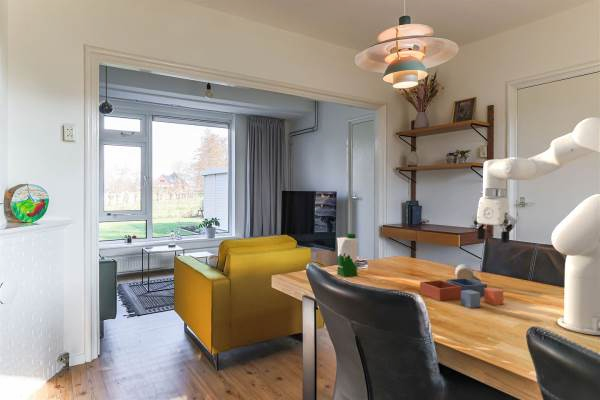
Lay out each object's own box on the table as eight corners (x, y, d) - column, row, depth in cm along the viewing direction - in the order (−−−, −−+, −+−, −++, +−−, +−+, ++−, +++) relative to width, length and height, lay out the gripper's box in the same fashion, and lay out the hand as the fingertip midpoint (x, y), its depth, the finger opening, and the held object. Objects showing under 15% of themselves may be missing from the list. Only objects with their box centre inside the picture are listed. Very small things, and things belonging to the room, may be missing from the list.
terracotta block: (503, 304, 132) (503, 290, 132) (494, 305, 130) (494, 291, 130) (492, 300, 136) (493, 287, 136) (484, 301, 134) (484, 288, 134)
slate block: (480, 306, 128) (480, 292, 128) (470, 308, 126) (470, 293, 126) (470, 303, 132) (470, 289, 132) (460, 304, 130) (461, 290, 130)
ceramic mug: (455, 283, 163) (456, 266, 162) (454, 279, 170) (455, 263, 170) (481, 286, 159) (482, 268, 159) (480, 282, 166) (480, 265, 166)
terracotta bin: (461, 298, 138) (461, 286, 138) (439, 300, 135) (440, 288, 135) (440, 291, 149) (440, 280, 149) (419, 293, 145) (420, 281, 145)
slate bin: (487, 295, 143) (487, 284, 143) (466, 297, 139) (467, 286, 139) (464, 288, 153) (465, 278, 153) (445, 290, 150) (445, 279, 150)
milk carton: (359, 275, 176) (360, 234, 176) (343, 277, 172) (344, 235, 172) (349, 272, 184) (350, 232, 184) (334, 273, 180) (334, 233, 180)
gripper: (466, 193, 138) (465, 238, 139) (509, 194, 123) (507, 244, 123) (480, 193, 142) (479, 237, 142) (524, 194, 126) (522, 243, 126)
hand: (492, 240), depth 133 cm, fingers open, 9 cm apart
